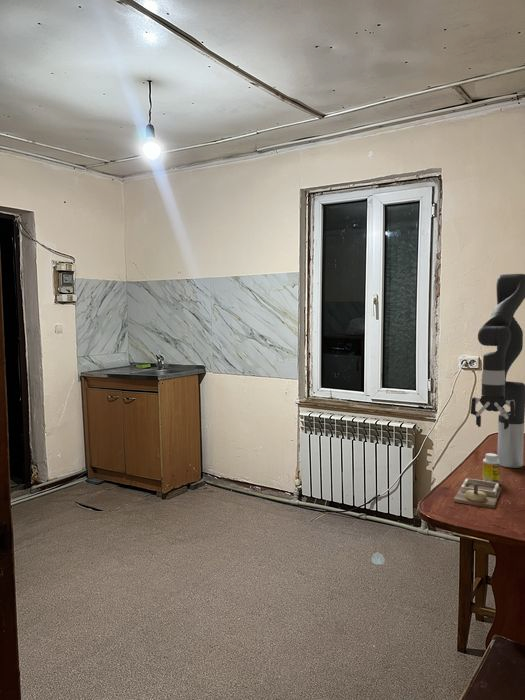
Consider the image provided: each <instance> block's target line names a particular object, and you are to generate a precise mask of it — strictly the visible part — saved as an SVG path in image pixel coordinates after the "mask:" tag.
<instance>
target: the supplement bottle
mask: <svg viewBox="0 0 525 700" xmlns="http://www.w3.org/2000/svg"><path fill="white" fill-rule="evenodd" d="M497 459H498V455H497V454H496V453H493V452H488V453H485V457H484V458H483V459H482V479H481V480H483V481H490V482H496V483H499V484H500V470H501V469H500V467H501V465H500V461H499V460H497Z"/></svg>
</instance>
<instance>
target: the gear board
mask: <svg viewBox="0 0 525 700" xmlns="http://www.w3.org/2000/svg"><path fill="white" fill-rule="evenodd" d="M501 491H502V487H500V482H499V483H496V482H490V481H483V480H482V479H475V478H469V477H466V478H465V479H464V480H463V483H462V484H461V486H460V488H459V490H458V491H457V493H456V494H455V496H454V497H453V502H454V503H461V504H464V505H465V504H466V505H471V506H477V507H484V508H489V509H495V507H496V506H497V505H496V504H497V503H498V500H497V499H499V496H500V495H501Z"/></svg>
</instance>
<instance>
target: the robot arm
mask: <svg viewBox="0 0 525 700" xmlns="http://www.w3.org/2000/svg"><path fill="white" fill-rule="evenodd" d="M524 300H525V273H508V274H507V273H506V274H500V275H499V276H498V277H497V279H496V306H495V308H494V309H493V311H492V313H491V315H490V318H489V319H487V321H485V322H484V324H482V325H481V326H480V329H479V330H478V333H477V340H478V342H479V344H480V345H482V346H487V347H496V351H493V352H487V353H484V354H483V356H482V357H483V358H482V373H481V396H480V397H479V398H478V397H475V396H473V397H472V398H471V403H470V404H471V406H470V414H471V415H473V416H475V417H476V419H475V424H476V426H477V427H478V428H480V427H482V414H483V413H484V411H485V410H486V411H488V412H496V413H497V412H499V414H498V417H497V418H498V419H497V420H498V421H497V452H496V453H497V455H498V459H497V460H499V461H500V467H501V466H502V467H505V468H516V469H518V468H522V467H523V466H524V443H525V441H524V439H525V433H524V432H525V383H524V382H521V381H509V380H508V381H507V375H508V372H509V370H510V368H511V367H512V365H513V364H514V362H515V360H517V358H518V357H519V356H520V354H521V353H522V350H523V346H524V345H523V344H524V331H523V329H522V327H521V326H520V324H519V322H518V321H517V319H516V318H515V317H514V315H515V314H516V312H517V311H518V309H519V307H520V306H521V305H522V303H523V302H524ZM479 402H480V404H481V405H482V407H481V408H480V409H479V410H478V411H477V410H476V408H477V406H476V405H478V403H479ZM505 405H507V406H508V407H509V408H510V409H509V411H507V410H506V409H505V408H504V406H505Z"/></svg>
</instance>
